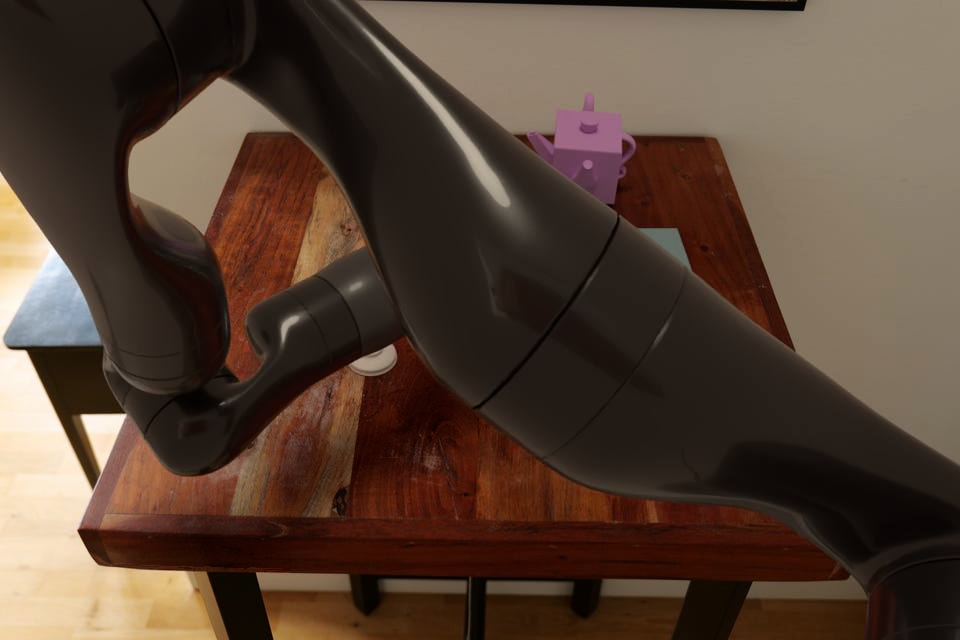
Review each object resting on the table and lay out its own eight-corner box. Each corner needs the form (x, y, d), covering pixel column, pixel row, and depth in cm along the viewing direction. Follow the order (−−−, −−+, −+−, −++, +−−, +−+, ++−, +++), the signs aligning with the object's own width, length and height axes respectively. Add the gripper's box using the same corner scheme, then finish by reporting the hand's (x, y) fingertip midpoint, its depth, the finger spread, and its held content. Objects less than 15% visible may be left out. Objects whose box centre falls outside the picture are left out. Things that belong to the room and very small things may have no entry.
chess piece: (378, 334, 87) (372, 257, 81) (407, 361, 85) (403, 284, 78) (337, 355, 85) (328, 278, 78) (365, 384, 82) (358, 306, 75)
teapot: (528, 146, 115) (533, 79, 108) (626, 154, 114) (637, 87, 108) (518, 225, 102) (523, 154, 95) (629, 235, 101) (642, 164, 94)
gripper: (443, 302, 59) (606, 211, 67) (322, 210, 66) (482, 139, 75) (443, 378, 64) (594, 284, 73) (330, 284, 71) (479, 209, 80)
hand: (536, 210), depth 74 cm, fingers closed on pill bottle, 5 cm apart
